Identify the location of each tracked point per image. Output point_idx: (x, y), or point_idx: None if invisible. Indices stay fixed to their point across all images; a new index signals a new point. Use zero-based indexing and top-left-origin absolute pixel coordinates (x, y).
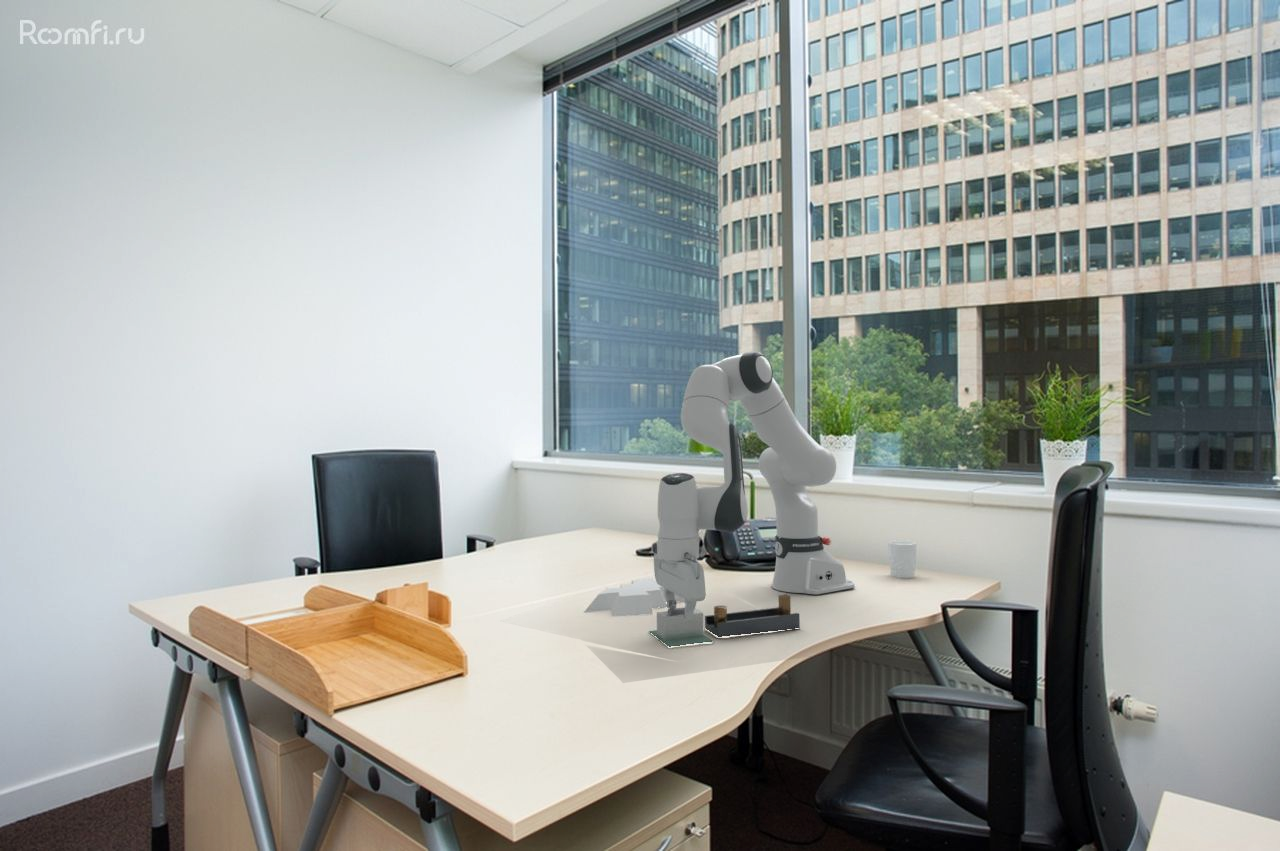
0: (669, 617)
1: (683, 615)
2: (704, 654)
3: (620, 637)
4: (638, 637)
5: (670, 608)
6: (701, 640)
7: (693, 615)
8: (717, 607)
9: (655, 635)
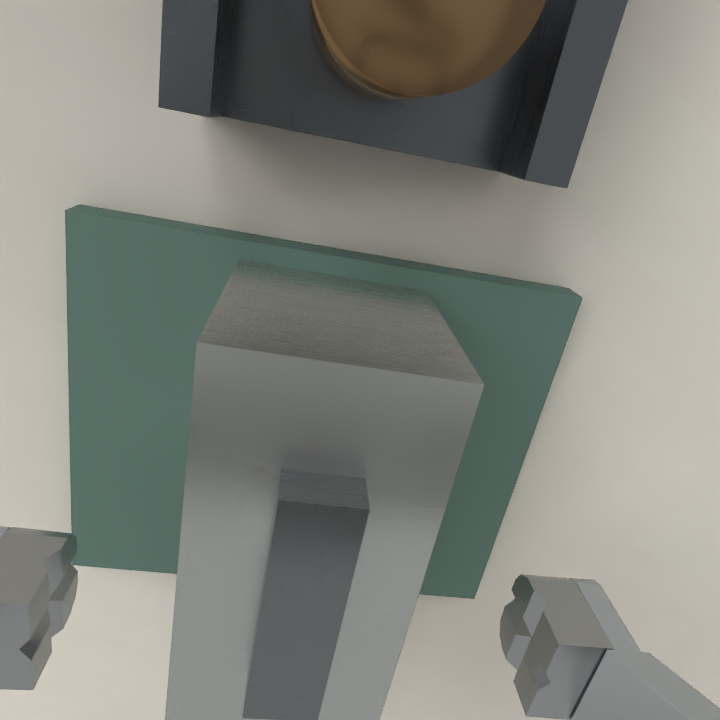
0: (381, 702)
1: (513, 659)
2: (686, 457)
3: (65, 686)
4: (114, 612)
5: (73, 592)
6: (520, 374)
7: (609, 602)
8: (422, 29)
9: None
